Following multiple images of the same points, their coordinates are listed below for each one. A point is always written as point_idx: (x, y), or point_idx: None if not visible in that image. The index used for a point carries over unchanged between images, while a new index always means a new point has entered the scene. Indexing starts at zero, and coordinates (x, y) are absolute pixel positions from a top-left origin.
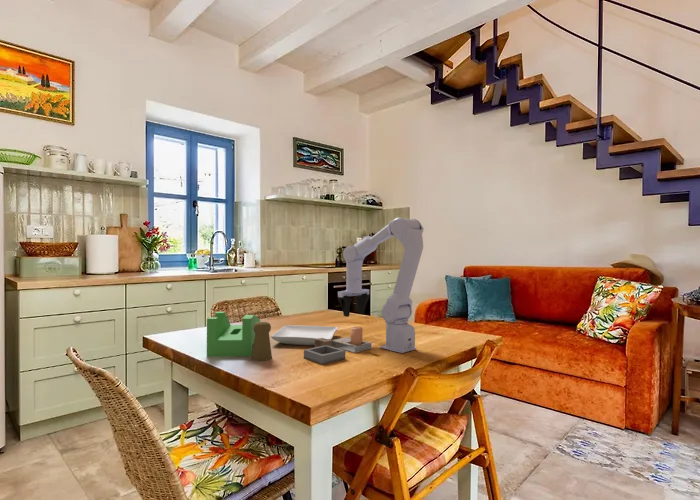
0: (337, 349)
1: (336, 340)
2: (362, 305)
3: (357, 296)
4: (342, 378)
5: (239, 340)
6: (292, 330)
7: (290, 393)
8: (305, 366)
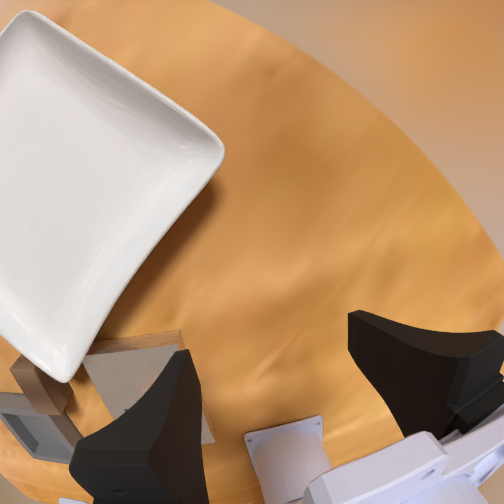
0: (71, 452)
1: (99, 369)
2: (386, 387)
3: (449, 382)
4: (67, 491)
5: None
6: (33, 44)
7: (4, 473)
8: (8, 430)
